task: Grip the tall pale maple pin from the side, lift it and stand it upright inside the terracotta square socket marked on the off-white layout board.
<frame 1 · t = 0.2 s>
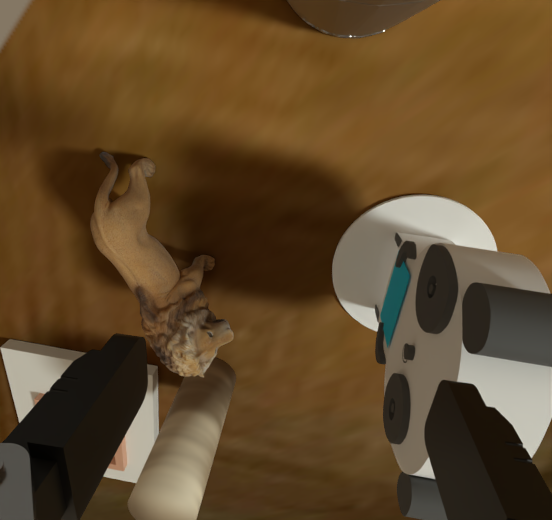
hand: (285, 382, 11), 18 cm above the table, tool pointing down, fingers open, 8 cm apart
maple pin: (211, 375, 35), on the table
layout board: (91, 413, 39), on the table
lion figurine: (182, 237, 29), on the table
panda figurine: (411, 265, 28), on the table
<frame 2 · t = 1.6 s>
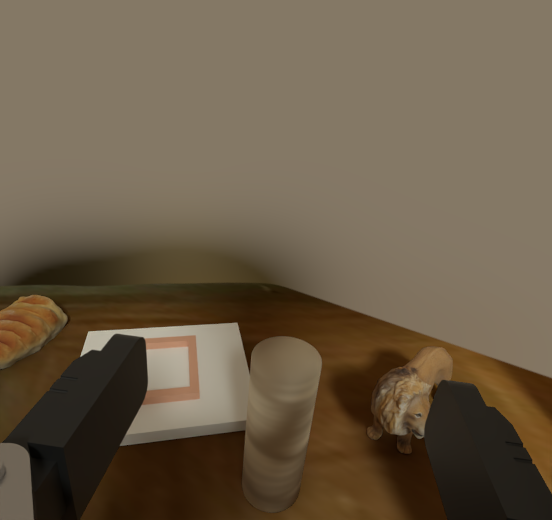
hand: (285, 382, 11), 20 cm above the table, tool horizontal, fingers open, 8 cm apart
maple pin: (270, 482, 29), on the table
layout board: (165, 379, 38), on the table
lion figurine: (406, 428, 36), on the table
pastry: (24, 342, 42), on the table
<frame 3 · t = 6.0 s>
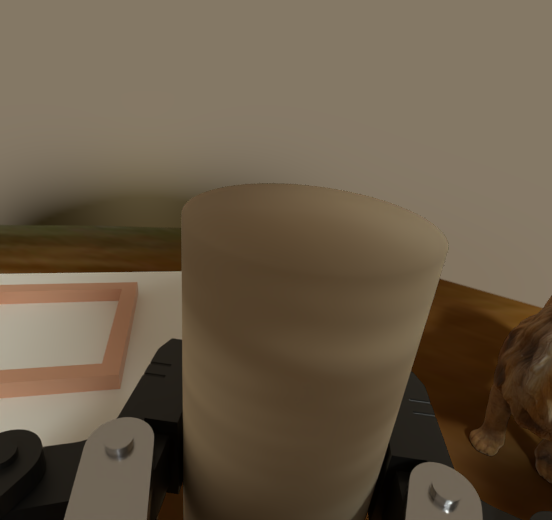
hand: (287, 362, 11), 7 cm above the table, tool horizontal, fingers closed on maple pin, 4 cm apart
layout board: (69, 354, 20), on the table
lion figurine: (538, 432, 19), on the table
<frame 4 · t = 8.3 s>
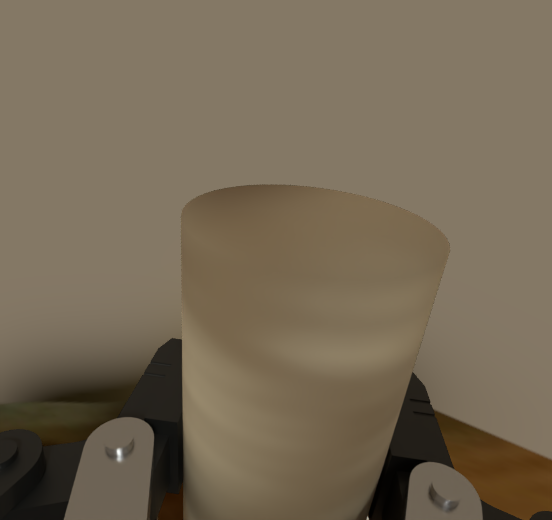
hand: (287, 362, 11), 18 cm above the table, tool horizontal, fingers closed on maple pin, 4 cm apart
when the fingers open (9 cm above the table, at t = 10.8 s): maple pin drops 1 cm, resting on layout board.
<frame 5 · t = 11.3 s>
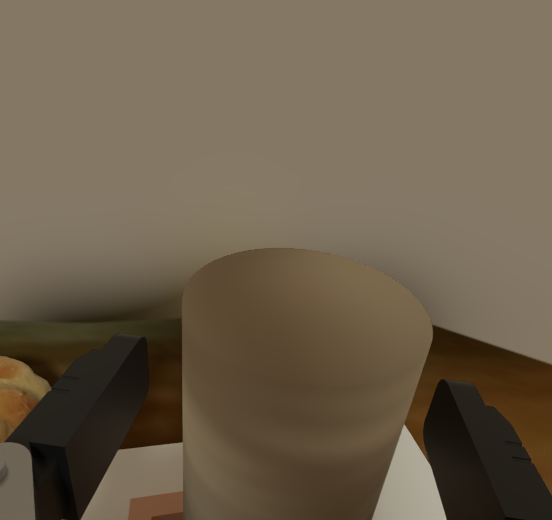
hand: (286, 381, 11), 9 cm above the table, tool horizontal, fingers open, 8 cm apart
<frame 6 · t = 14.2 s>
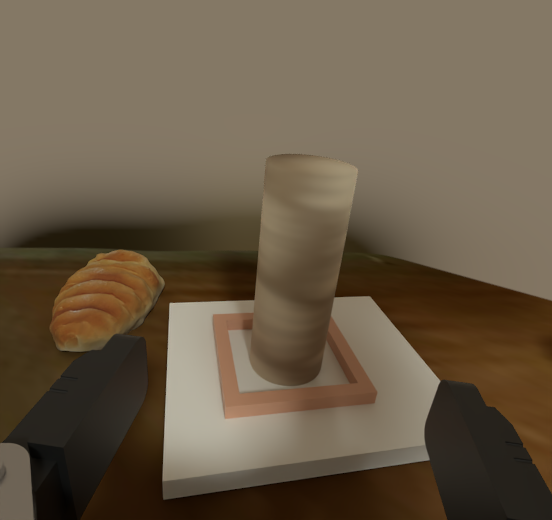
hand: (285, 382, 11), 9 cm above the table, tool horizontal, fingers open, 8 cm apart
maple pin: (285, 359, 24), point 1 cm above the table, touching layout board
layout board: (298, 373, 25), on the table
pastry: (112, 316, 29), on the table
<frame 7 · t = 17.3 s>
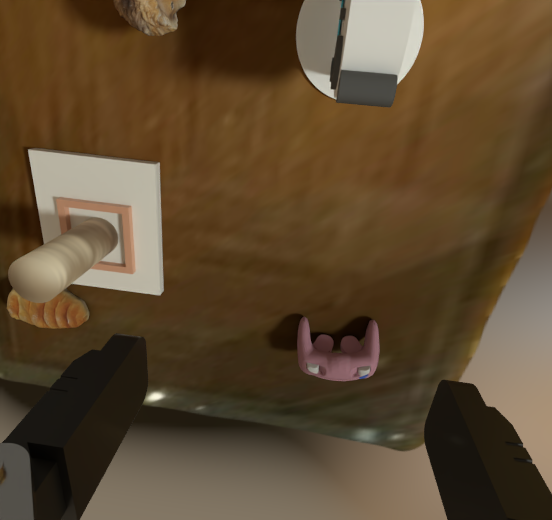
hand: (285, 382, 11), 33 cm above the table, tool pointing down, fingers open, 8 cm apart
video game controller: (336, 333, 50), on the table
maple pin: (99, 235, 45), point 1 cm above the table, touching layout board
layout board: (103, 223, 46), on the table
panda figurine: (358, 31, 36), on the table
pastry: (53, 297, 52), on the table
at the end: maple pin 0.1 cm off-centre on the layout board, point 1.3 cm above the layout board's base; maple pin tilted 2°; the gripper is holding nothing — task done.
